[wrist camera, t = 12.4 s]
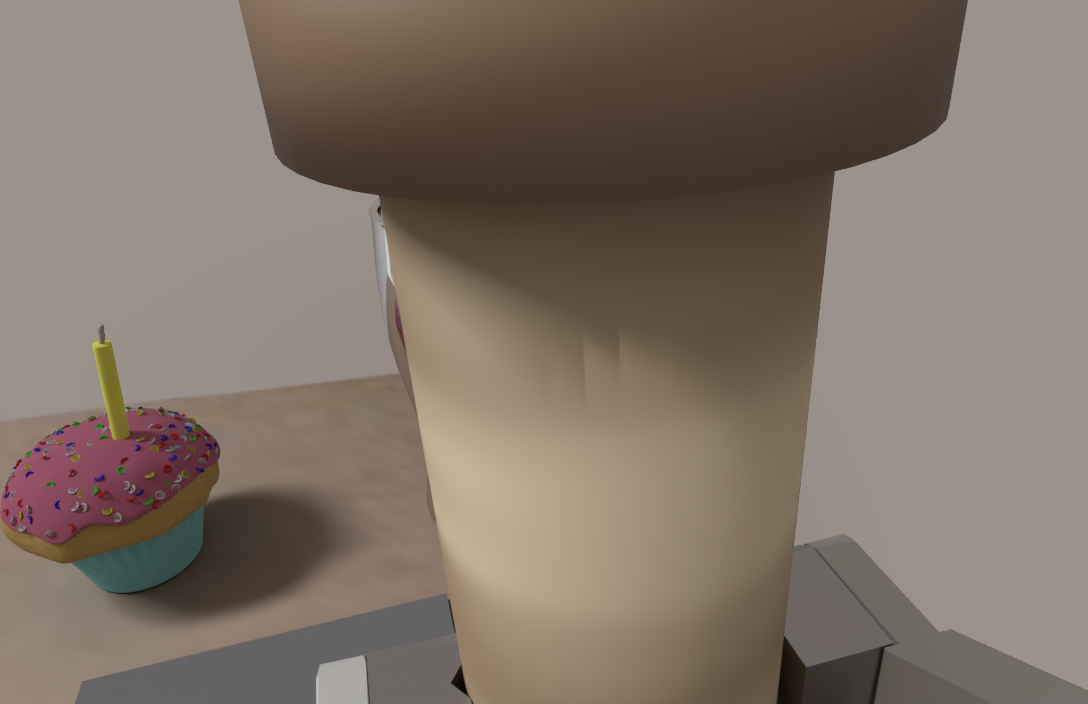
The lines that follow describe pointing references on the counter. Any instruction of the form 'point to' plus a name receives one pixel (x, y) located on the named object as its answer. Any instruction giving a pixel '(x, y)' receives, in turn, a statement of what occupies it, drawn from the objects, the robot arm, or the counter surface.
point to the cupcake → (115, 491)
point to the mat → (271, 661)
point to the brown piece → (607, 297)
